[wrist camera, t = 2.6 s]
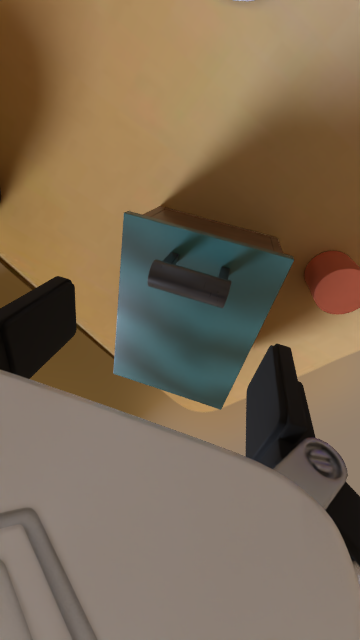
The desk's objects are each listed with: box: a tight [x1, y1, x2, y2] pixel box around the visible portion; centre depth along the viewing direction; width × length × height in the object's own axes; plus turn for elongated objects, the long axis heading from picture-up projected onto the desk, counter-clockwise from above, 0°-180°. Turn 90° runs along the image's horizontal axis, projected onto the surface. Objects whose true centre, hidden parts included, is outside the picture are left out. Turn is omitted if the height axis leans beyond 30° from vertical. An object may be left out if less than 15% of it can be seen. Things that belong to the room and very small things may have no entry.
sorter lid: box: [114, 211, 294, 409], centre depth 21 cm, size 17×13×5 cm
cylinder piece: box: [304, 251, 360, 314], centre depth 24 cm, size 4×4×5 cm
